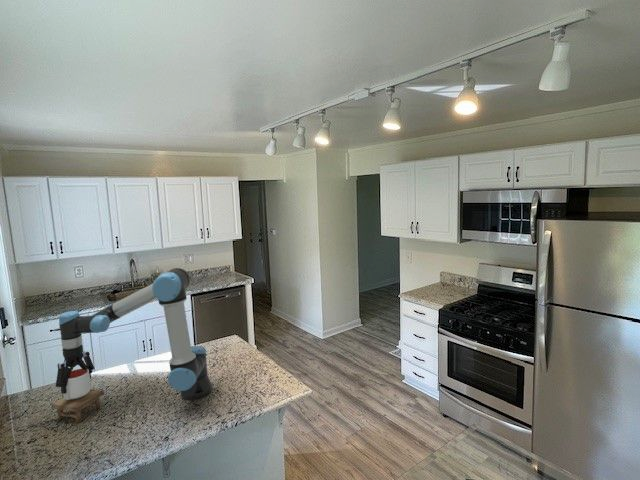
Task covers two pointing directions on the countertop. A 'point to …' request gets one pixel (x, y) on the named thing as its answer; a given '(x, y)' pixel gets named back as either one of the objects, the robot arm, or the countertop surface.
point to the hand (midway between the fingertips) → (77, 392)
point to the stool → (77, 404)
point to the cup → (79, 383)
